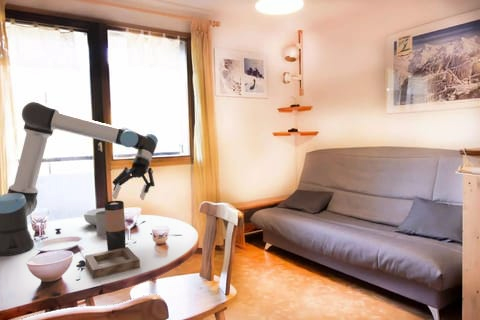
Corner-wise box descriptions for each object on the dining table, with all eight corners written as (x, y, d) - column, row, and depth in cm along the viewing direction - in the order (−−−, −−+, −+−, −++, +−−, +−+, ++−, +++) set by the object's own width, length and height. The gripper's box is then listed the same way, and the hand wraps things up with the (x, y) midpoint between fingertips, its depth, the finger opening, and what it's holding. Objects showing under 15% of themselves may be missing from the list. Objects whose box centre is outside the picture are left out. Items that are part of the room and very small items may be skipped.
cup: (108, 235, 164) (107, 215, 163) (93, 234, 166) (92, 214, 165) (118, 230, 173) (117, 210, 172) (103, 229, 174) (102, 210, 173)
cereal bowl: (122, 219, 193) (121, 206, 192) (113, 228, 176) (112, 214, 176) (91, 220, 192) (90, 207, 191) (79, 229, 175) (78, 215, 175)
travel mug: (129, 247, 147) (127, 201, 145) (114, 253, 141) (111, 205, 139) (118, 244, 151) (116, 199, 149) (103, 250, 145) (100, 203, 143)
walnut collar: (93, 278, 118) (92, 270, 118) (85, 263, 131) (84, 255, 131) (139, 267, 126) (139, 259, 126) (128, 254, 140) (127, 246, 140)
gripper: (168, 166, 168) (156, 203, 155) (122, 165, 173) (106, 201, 160) (163, 156, 162) (150, 193, 149) (115, 156, 167) (98, 192, 154)
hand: (127, 197), depth 155 cm, fingers open, 13 cm apart
